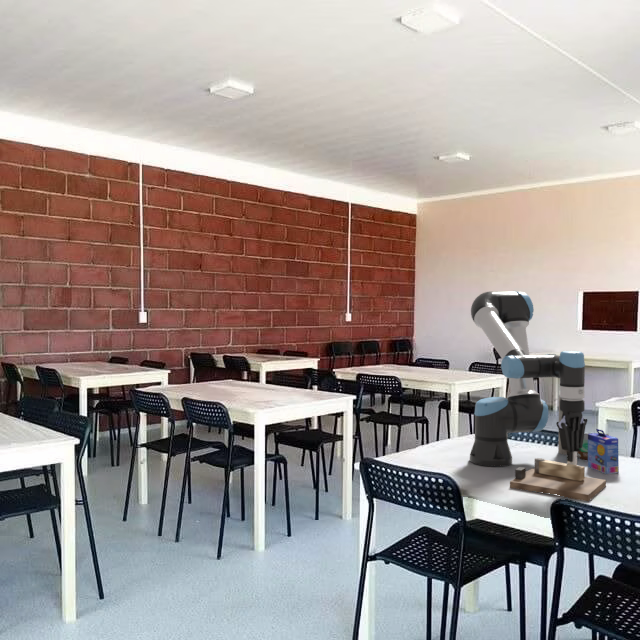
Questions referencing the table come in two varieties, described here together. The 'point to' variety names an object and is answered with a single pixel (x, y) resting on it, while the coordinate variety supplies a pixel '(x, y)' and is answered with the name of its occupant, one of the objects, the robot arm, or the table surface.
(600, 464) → the ink cartridge box
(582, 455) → the food container
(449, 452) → the table surface
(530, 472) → the board
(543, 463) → the stool leg
